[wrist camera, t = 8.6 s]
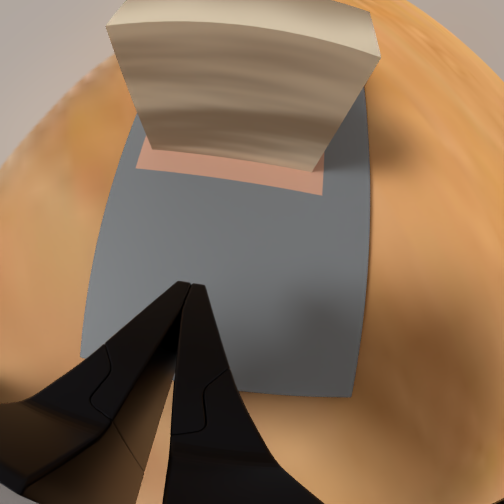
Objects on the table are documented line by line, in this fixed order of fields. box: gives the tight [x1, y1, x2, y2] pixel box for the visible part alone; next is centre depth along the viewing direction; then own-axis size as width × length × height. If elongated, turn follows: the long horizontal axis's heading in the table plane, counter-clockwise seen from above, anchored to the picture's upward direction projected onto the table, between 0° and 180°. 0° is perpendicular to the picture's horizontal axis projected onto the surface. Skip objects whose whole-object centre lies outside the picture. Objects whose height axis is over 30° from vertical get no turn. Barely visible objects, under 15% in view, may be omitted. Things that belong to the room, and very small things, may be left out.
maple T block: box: [106, 0, 381, 172], centre depth 14 cm, size 9×10×10 cm
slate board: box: [80, 87, 370, 397], centre depth 18 cm, size 24×16×1 cm, turn 172°
